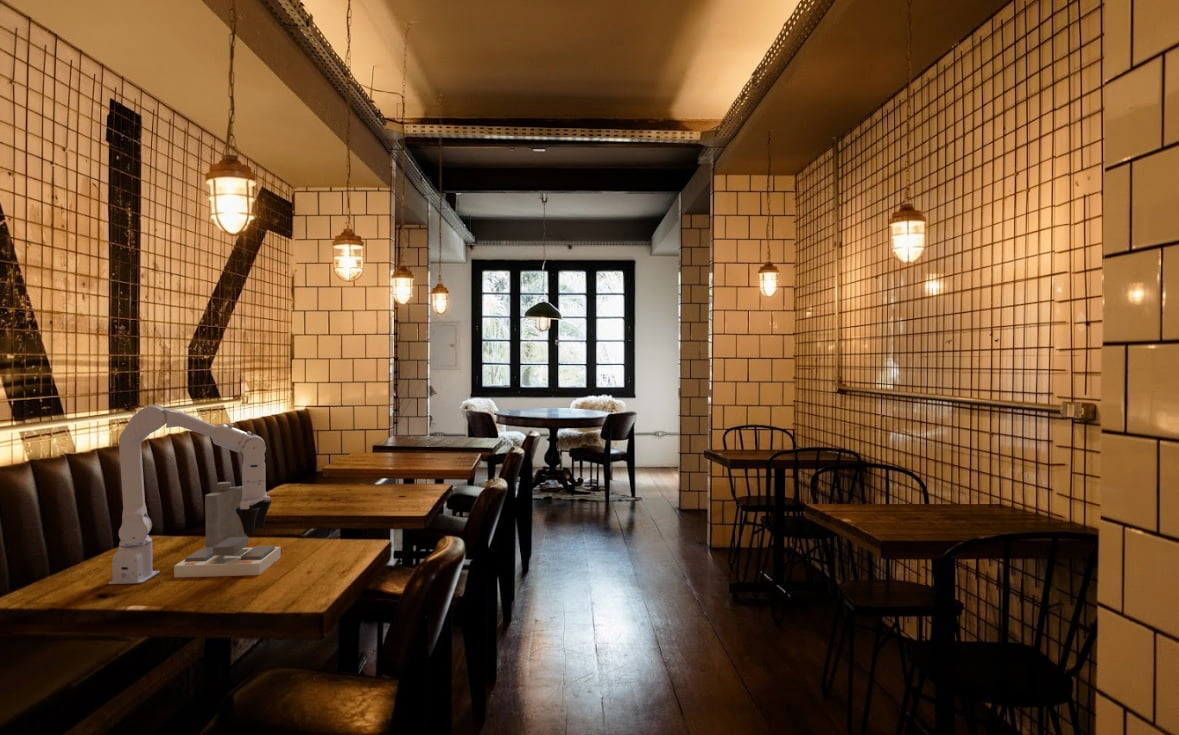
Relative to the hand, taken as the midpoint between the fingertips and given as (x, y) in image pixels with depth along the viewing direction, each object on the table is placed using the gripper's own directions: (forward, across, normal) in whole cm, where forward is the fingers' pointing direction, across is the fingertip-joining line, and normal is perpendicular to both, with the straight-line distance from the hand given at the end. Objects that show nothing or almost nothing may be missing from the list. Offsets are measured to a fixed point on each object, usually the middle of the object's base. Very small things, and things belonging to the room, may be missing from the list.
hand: (254, 530), depth 202 cm
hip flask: (+10, +17, +14) cm, 24 cm away
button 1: (+8, 0, +13) cm, 15 cm away
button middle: (+5, 0, +6) cm, 8 cm away
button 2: (+8, 0, -1) cm, 8 cm away
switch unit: (+9, 0, +6) cm, 11 cm away
